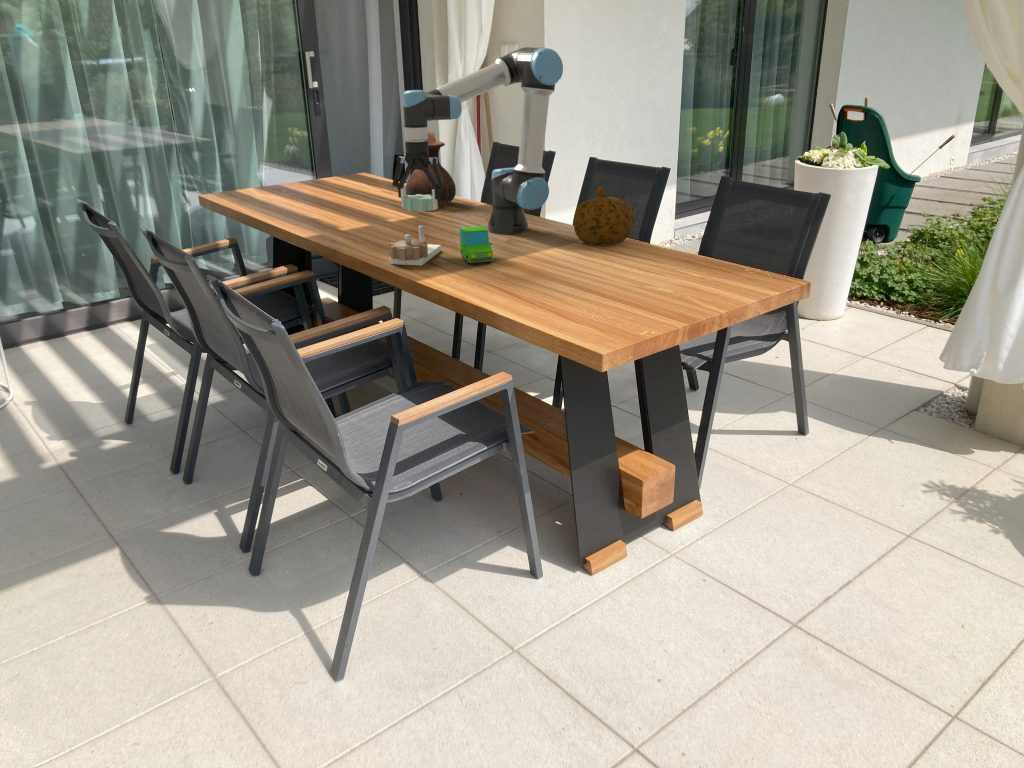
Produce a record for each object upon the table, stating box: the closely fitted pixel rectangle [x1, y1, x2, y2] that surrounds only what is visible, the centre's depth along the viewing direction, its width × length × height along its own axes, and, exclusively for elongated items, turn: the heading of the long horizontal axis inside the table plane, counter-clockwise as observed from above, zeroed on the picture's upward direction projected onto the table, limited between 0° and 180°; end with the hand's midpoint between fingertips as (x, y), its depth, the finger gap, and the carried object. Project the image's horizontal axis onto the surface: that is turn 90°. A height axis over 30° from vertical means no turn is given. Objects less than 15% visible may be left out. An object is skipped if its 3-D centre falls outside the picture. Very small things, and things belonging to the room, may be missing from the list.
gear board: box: [389, 225, 442, 267], centre depth 278 cm, size 12×23×9 cm, turn 166°
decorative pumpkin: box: [573, 186, 635, 247], centre depth 293 cm, size 20×21×20 cm
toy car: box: [459, 225, 494, 265], centre depth 274 cm, size 10×13×10 cm
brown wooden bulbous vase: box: [405, 131, 457, 209], centre depth 355 cm, size 22×22×30 cm
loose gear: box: [403, 194, 434, 213], centre depth 280 cm, size 10×10×4 cm
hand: (419, 208), depth 281 cm, fingers closed on loose gear, 10 cm apart
